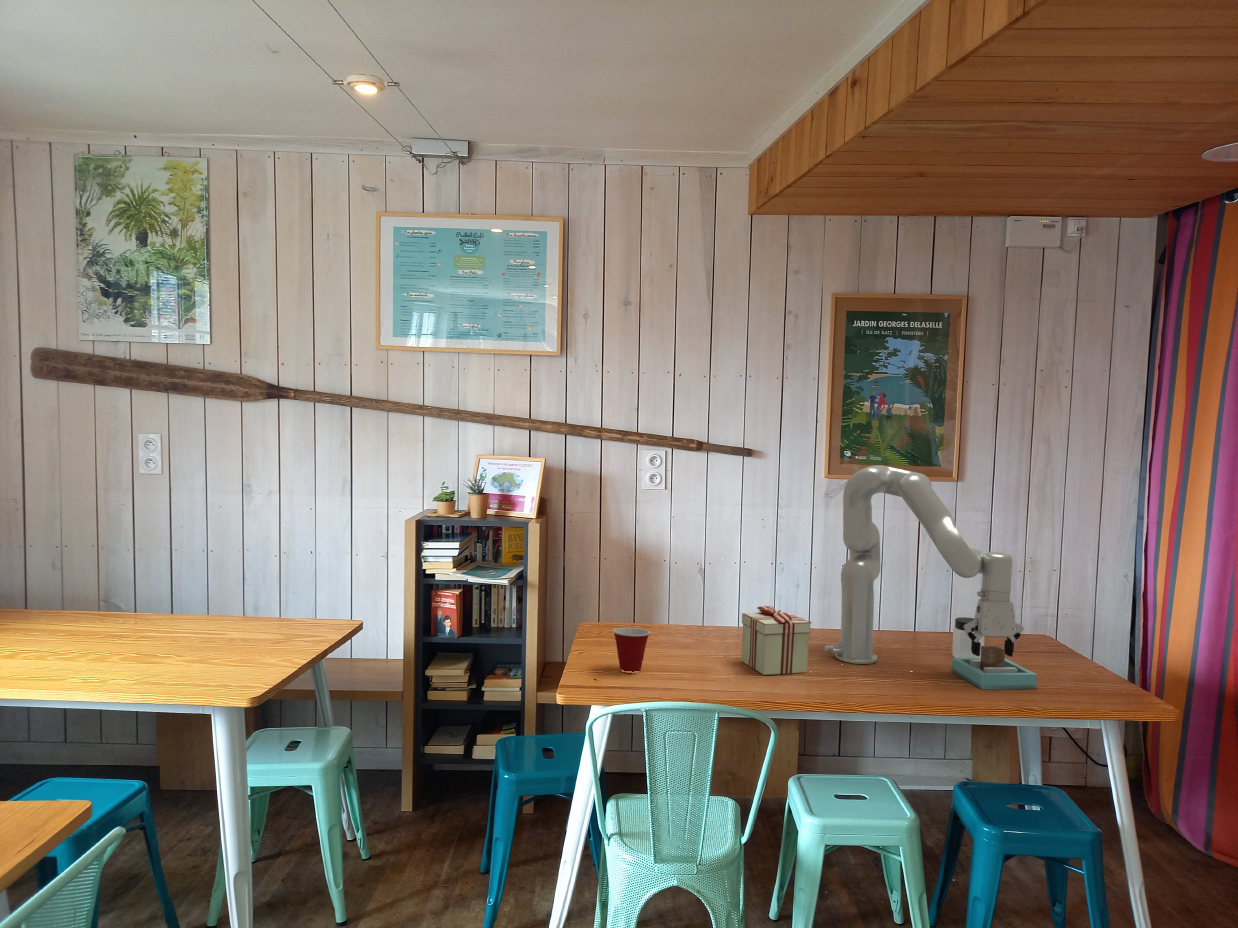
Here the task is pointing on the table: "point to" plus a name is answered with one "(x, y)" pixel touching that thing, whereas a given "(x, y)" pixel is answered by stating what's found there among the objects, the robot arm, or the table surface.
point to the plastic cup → (631, 647)
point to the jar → (963, 639)
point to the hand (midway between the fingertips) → (991, 654)
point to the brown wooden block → (992, 657)
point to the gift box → (775, 641)
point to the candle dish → (994, 674)
